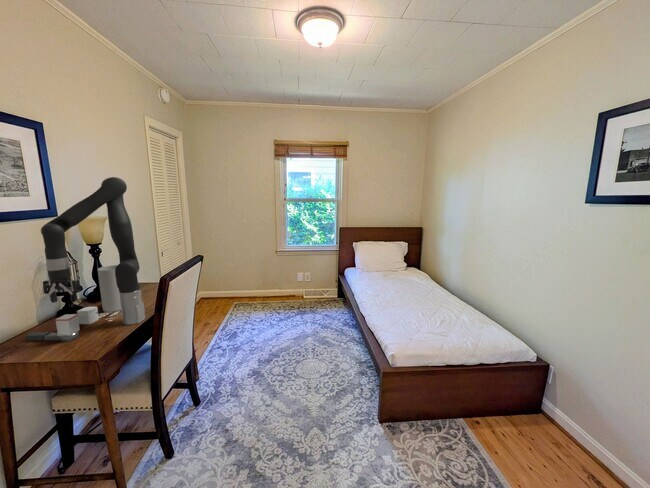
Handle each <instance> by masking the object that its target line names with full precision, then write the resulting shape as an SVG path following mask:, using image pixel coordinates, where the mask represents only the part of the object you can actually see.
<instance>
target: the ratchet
mask: <svg viewBox="0 0 650 488" xmlns="http://www.w3.org/2000/svg"><path fill="white" fill-rule="evenodd" d="M24 336H25V337H24V338H25V342H43V341H60V342H62V343H65V342H66V343H67V342H71V341H74V340H76V339H79V337H80V335H79V331H77V332H76V333H74V334H72V335H70V336H58V332H51V331H32V332H30V333H28V334H26V335H24Z"/></svg>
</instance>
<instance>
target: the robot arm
mask: <svg viewBox="0 0 650 488" xmlns="http://www.w3.org/2000/svg"><path fill="white" fill-rule="evenodd" d="M127 189H128V186H127V184H126V181H124V180H123V179H122V178H120V177H116V176H111V177H107V178H104V180H102V182H101V185H100V187H99V188H98V189H97V190H96V191H94V192H93V193H92V194H90V195H89V196H87V197H85V198H84V199H81V200H80V201H78V202H77V203H75V204H73V205H72V206H70V207H69V208H67V209H66V210H65V211H64V212H62V213H61V214H59V215H58V216H57V217H55V218H53V219H52V220H49V221H48V222H47V223H45V224H43V226H42V227H41V228H40V234H41V235H42V238H43V243H44V244H43V245H44V254H45V255H44V256H45V262H46V263H45V265H46V271H47V277H48V279H47V280H44V281H42V288H43V290H42V291H43V293H44V295H48V296H49V298H50V299H49V300H50V302H51V303H52V304H53V303H57V302H58V295H57V292H58V291H60V290H61V291H65V292H68V293H69V294H70V303H75V302H77V301H78V293H79V292H81V291H82V288H81V285H80V280H79V279H78V278H77V279H73V280H72V278H71V277H72V272H71V271H72V270H71V265H70V260H69V257H68V251H67V247H66V235H65V234H66V233H65V232H67V231H69V230H70V229H71V228H72V227H75V226H77V225H79V224H81V222H83V221H84V220H86V219H87V218H88V217H90V216H91V215H92V214H93V213H94V212H96V211H97V210H99V209H100V208H101V207H102V206H104V205H105V204H106V209H107V210H106V211H107V220H108V228H109V233H110V236H111V240H112V241H113V243H114V245H115V247H116V248H117V252H118V256H119V257H118V258H119V263H118V264H116V265H117V266H116V268H115V277H116V283H117V287H118V289H119V295H120V303H121V310H120V311H121V317H122V318H121V319H122V325H135V324H140V323H142V321H143V320H145V319H146V312H145V311H146V310H145V303H144V302H143V300H142V293H141V291H142V290H141V285H140V283H139V281H138V273H139V271H140V268H141V267H140V263H139V260H138V257H137V254H136V250H135V239H134V234H133V233H134V232H133V226H132V221H131V219H130V218H131V217H130V216H129V213H128V212H127V208H126V207H125V206H126V205H125V201H124V194H125V193H126V191H127Z"/></svg>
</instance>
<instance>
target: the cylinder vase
mask: <svg viewBox="0 0 650 488" xmlns="http://www.w3.org/2000/svg"><path fill="white" fill-rule="evenodd" d="M117 265H118V264H116V265H115V264H114V265H107V266H102V267H99V268H97V276H98V284H99V290H100V299H101V306H102V311H103V312H105V313H115V312H119V311H121V303H120V295H119V289H118V287H117V283H116V277H115V268H116V266H117Z"/></svg>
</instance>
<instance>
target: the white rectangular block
mask: <svg viewBox="0 0 650 488" xmlns="http://www.w3.org/2000/svg"><path fill="white" fill-rule="evenodd" d="M54 321H55V326H56V331H57V332H56V333H58V336H70V335H72V334H74V333H76V332H77V331H78V332H79V331H80V324H79V320H78V314H77V313H72V314H69V313H67V314H64V315H61V316H59V317H57V318H55V320H54Z"/></svg>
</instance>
